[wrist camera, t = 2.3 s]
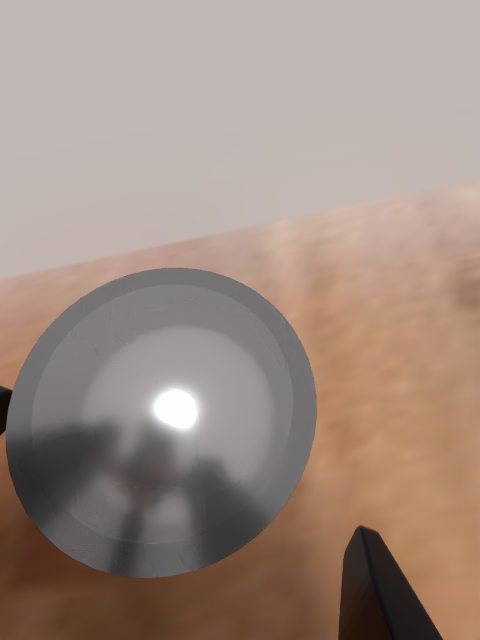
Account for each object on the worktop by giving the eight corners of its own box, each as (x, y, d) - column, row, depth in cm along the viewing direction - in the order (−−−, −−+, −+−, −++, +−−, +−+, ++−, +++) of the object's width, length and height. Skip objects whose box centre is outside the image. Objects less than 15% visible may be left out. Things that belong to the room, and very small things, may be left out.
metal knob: (290, 499, 16) (402, 499, 5) (167, 554, 15) (2, 693, 4) (243, 383, 18) (255, 224, 8) (134, 424, 17) (-25, 308, 7)
